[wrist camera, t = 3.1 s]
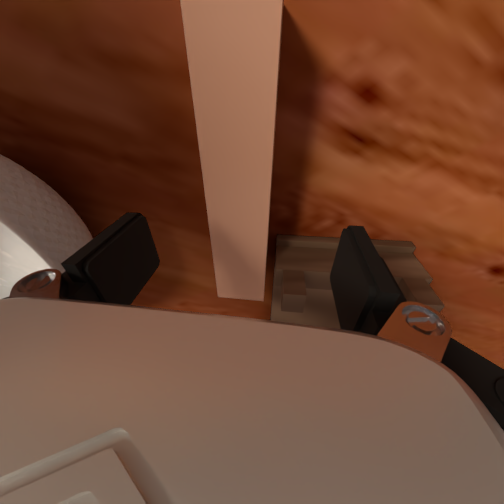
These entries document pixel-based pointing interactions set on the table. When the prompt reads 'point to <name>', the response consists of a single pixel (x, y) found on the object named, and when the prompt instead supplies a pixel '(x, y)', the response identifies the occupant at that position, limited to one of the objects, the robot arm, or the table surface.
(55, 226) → the cereal bowl
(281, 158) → the table surface
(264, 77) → the pink rectangular bar
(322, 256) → the plate with corner blocks
